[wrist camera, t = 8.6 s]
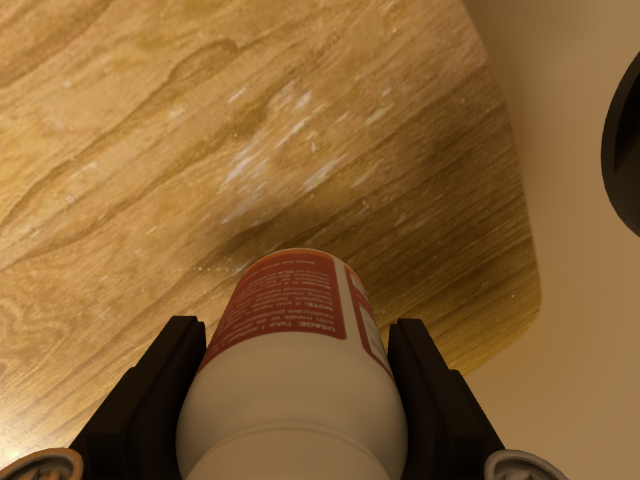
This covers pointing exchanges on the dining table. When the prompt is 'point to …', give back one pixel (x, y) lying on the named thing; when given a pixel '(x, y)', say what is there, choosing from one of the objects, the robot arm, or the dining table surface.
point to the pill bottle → (294, 381)
